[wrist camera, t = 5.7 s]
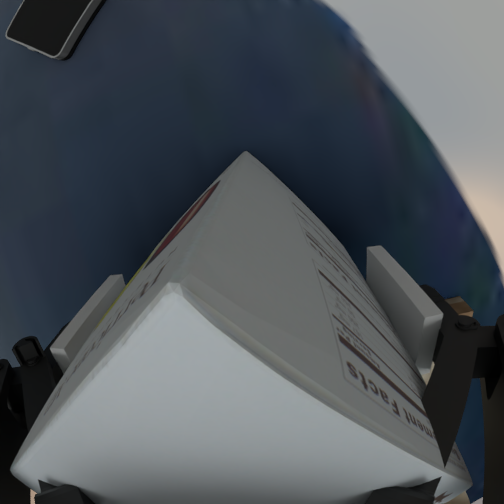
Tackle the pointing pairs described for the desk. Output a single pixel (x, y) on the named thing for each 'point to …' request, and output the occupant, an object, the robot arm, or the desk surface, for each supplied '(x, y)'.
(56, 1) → the external hard drive
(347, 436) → the supplement box
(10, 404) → the robot arm
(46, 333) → the desk surface
